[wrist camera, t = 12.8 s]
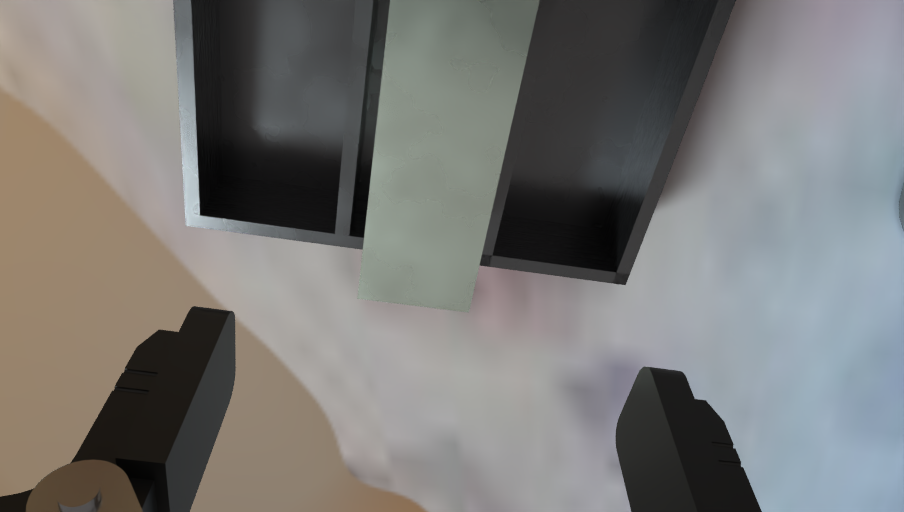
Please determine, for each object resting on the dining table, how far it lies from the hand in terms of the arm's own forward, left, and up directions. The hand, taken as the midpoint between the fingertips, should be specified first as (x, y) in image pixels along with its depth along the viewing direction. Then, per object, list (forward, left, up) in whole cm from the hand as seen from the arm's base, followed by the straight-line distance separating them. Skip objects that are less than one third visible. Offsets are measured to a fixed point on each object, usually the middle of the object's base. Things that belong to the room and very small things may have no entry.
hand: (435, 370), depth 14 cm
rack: (0, 0, -19) cm, 19 cm away
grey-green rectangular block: (0, 0, -18) cm, 18 cm away
